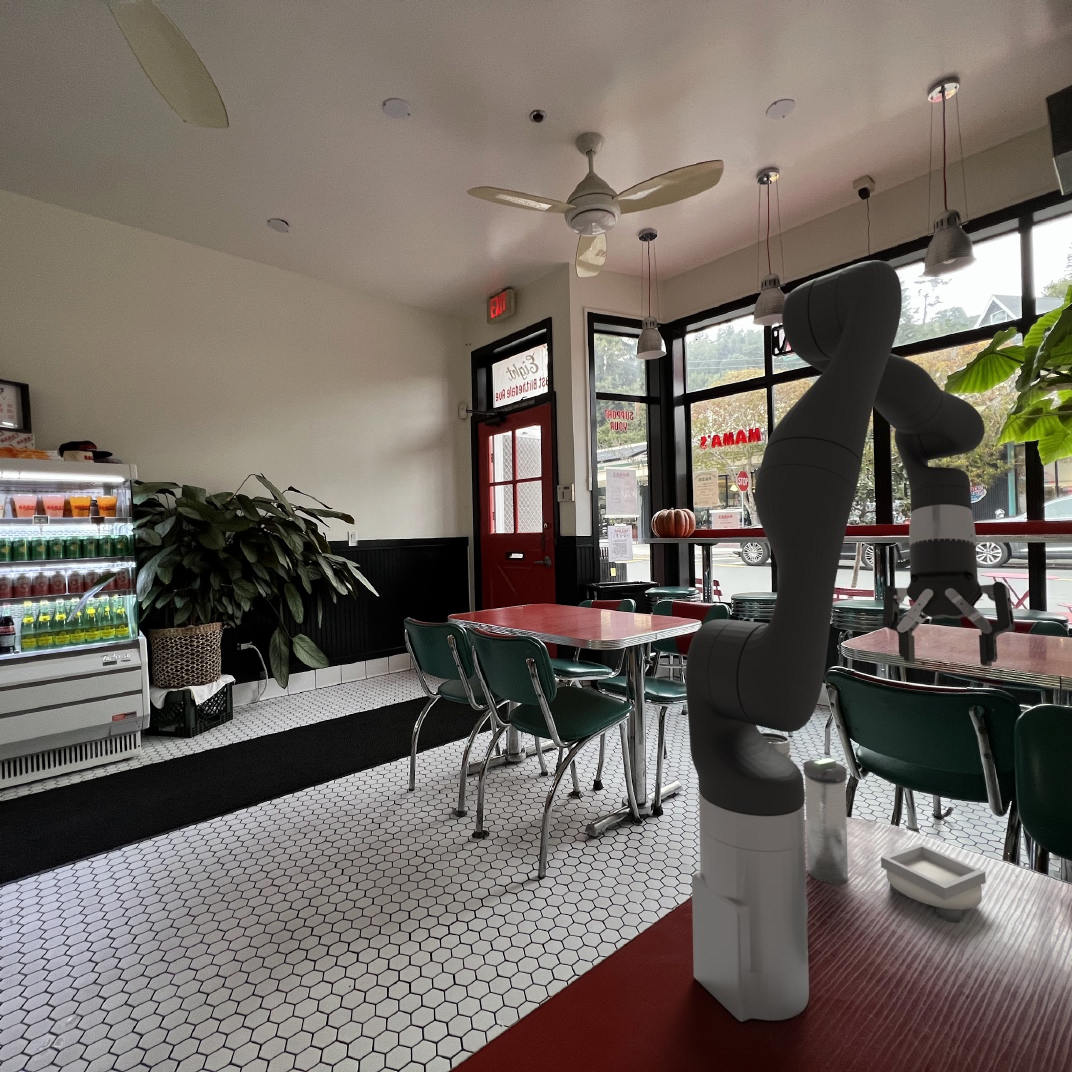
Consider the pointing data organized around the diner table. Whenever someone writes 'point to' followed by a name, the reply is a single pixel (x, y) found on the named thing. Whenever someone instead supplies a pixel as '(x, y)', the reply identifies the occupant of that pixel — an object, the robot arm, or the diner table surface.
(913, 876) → the rectangular footed bonsai pot
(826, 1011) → the diner table surface
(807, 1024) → the diner table surface
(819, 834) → the grey bottle with lid
